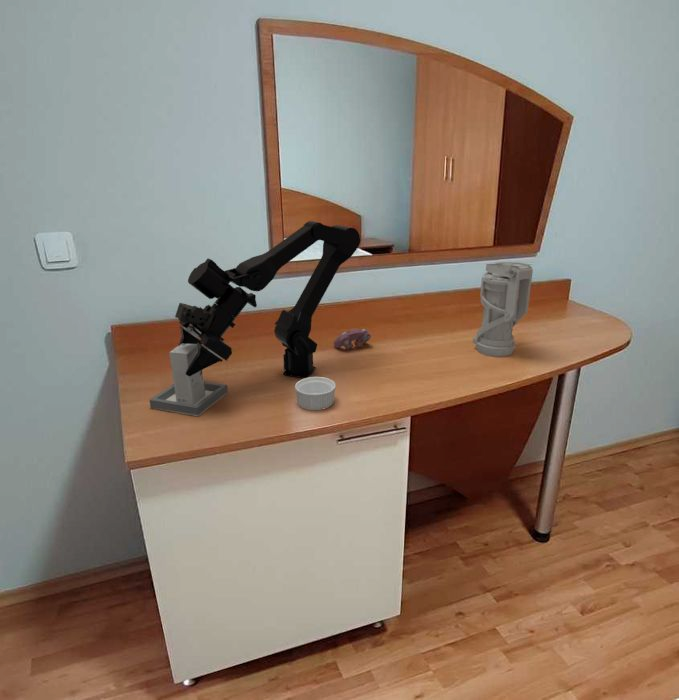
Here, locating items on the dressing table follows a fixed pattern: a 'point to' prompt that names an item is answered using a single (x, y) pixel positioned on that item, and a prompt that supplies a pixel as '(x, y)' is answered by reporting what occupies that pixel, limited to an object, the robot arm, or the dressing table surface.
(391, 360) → the dressing table surface
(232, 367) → the dressing table surface
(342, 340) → the video game controller
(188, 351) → the skincare box
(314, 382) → the ramekin
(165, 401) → the holder
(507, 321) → the lantern
